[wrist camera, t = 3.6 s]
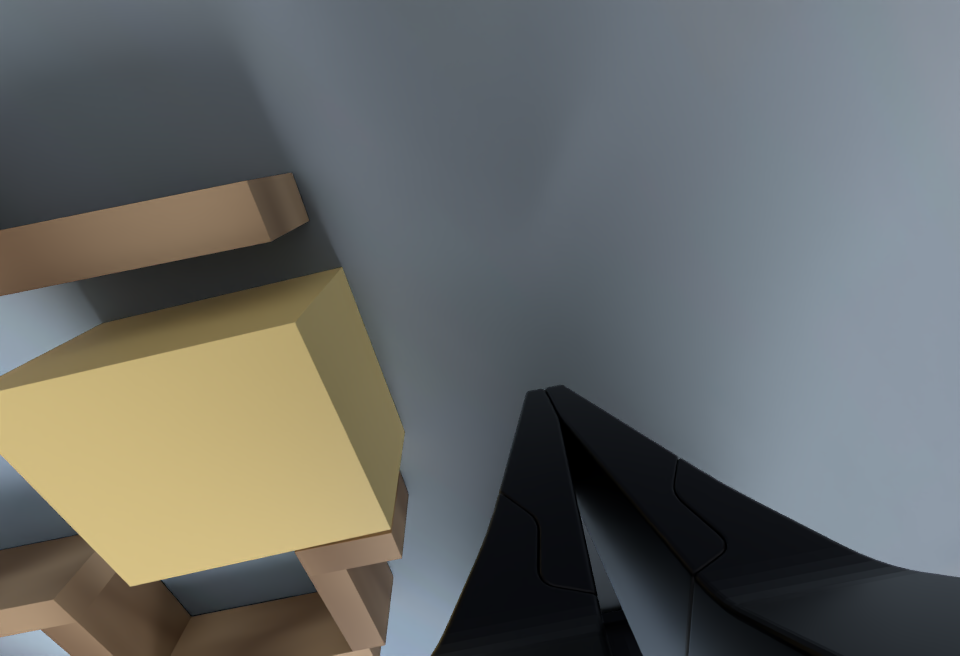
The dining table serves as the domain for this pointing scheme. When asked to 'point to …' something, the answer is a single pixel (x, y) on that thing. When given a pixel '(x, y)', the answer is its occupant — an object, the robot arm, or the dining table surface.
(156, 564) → the block
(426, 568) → the dining table surface
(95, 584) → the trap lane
